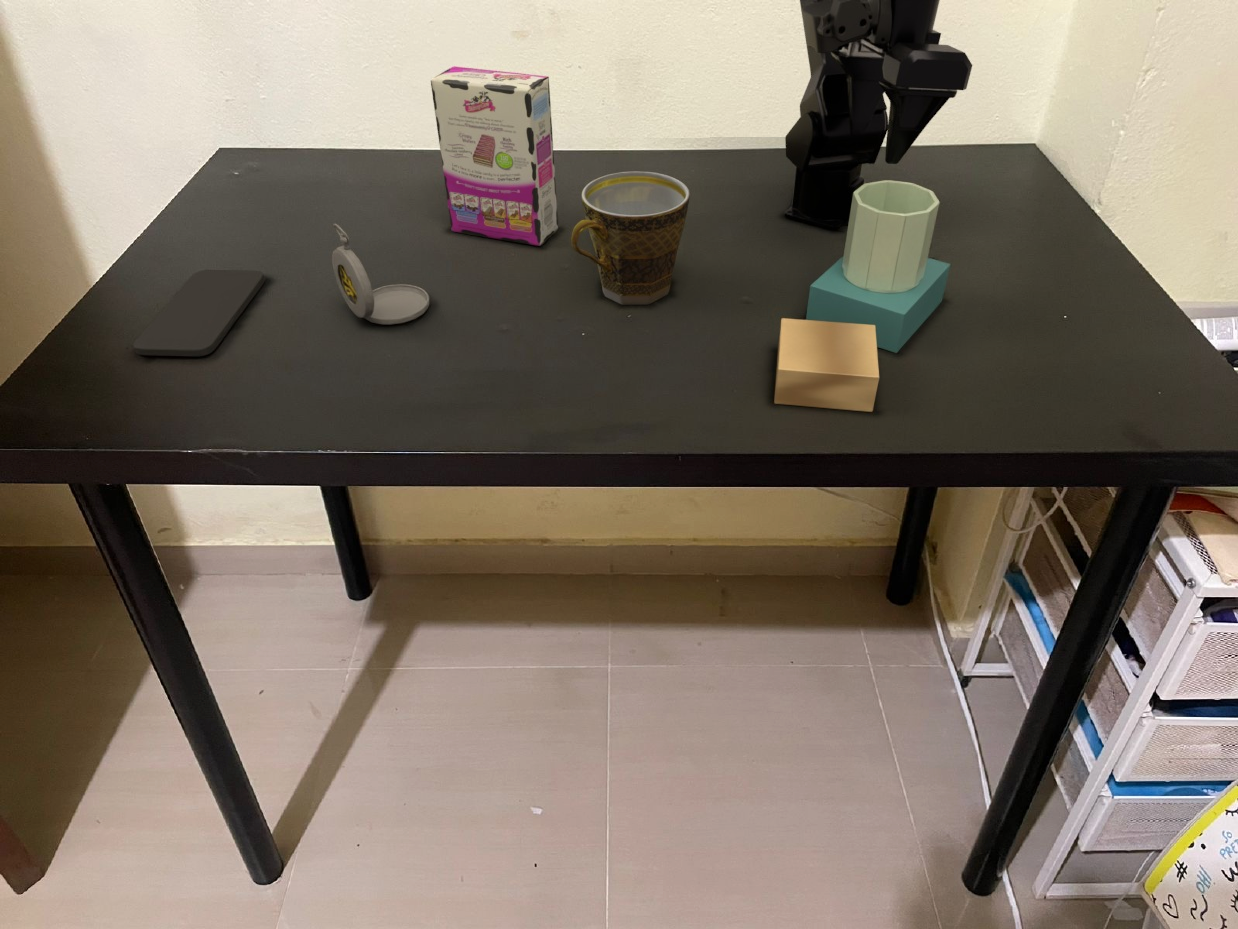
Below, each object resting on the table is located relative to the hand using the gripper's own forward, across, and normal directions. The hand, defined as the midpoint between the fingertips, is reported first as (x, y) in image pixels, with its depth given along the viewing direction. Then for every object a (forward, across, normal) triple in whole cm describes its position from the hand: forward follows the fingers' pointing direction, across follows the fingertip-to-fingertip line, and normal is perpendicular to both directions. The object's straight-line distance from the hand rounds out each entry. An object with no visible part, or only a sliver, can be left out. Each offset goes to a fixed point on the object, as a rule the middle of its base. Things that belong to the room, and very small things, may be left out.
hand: (872, 148), depth 88 cm
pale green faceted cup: (+9, +8, 0) cm, 12 cm away
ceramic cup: (+15, 0, -22) cm, 27 cm away
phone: (+18, -2, -63) cm, 65 cm away
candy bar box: (+14, -16, -34) cm, 40 cm away
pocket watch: (+17, 0, -46) cm, 49 cm away
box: (+13, +7, 0) cm, 15 cm away
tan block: (+15, +18, -8) cm, 24 cm away
